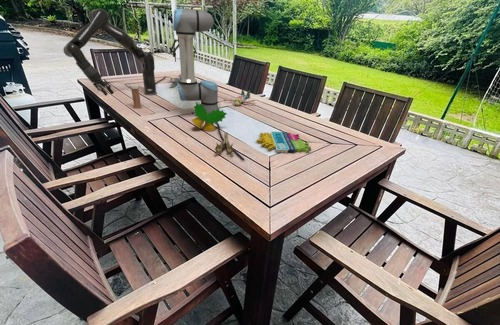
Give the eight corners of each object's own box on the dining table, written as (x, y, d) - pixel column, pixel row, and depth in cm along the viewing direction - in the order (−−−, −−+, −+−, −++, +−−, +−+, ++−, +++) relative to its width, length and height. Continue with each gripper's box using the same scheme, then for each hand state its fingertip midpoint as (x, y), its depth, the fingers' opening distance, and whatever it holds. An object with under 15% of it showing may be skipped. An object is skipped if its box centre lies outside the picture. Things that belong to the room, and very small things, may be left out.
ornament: (218, 133, 171) (224, 110, 169) (221, 134, 163) (227, 111, 161) (186, 125, 162) (192, 101, 160) (189, 126, 155) (195, 101, 153)
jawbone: (234, 135, 144) (233, 125, 135) (233, 160, 138) (232, 151, 129) (217, 135, 144) (216, 125, 135) (216, 160, 138) (214, 150, 129)
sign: (313, 150, 142) (258, 149, 139) (312, 153, 143) (258, 152, 140) (301, 132, 164) (254, 130, 161) (301, 134, 165) (254, 133, 162)
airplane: (160, 80, 270) (159, 70, 265) (190, 78, 283) (189, 68, 278) (168, 89, 242) (167, 78, 236) (201, 87, 255) (201, 77, 250)
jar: (142, 107, 192) (139, 86, 184) (135, 108, 188) (132, 87, 181) (139, 105, 194) (136, 84, 187) (133, 107, 191) (129, 85, 184)
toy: (261, 91, 228) (254, 99, 202) (261, 99, 231) (253, 108, 205) (231, 87, 233) (220, 95, 207) (230, 95, 236) (219, 104, 210)
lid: (140, 88, 185) (140, 85, 184) (132, 89, 181) (132, 86, 180) (137, 86, 188) (136, 84, 187) (129, 87, 184) (128, 84, 184)
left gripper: (101, 68, 171) (118, 90, 181) (91, 72, 179) (108, 92, 189) (92, 75, 167) (110, 96, 177) (82, 78, 175) (101, 98, 185)
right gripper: (198, 33, 207) (199, 61, 218) (165, 31, 201) (168, 60, 211) (199, 33, 201) (200, 62, 211) (165, 32, 194) (168, 62, 205)
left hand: (109, 94), depth 183 cm, fingers open, 8 cm apart
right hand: (184, 61), depth 211 cm, fingers open, 13 cm apart
